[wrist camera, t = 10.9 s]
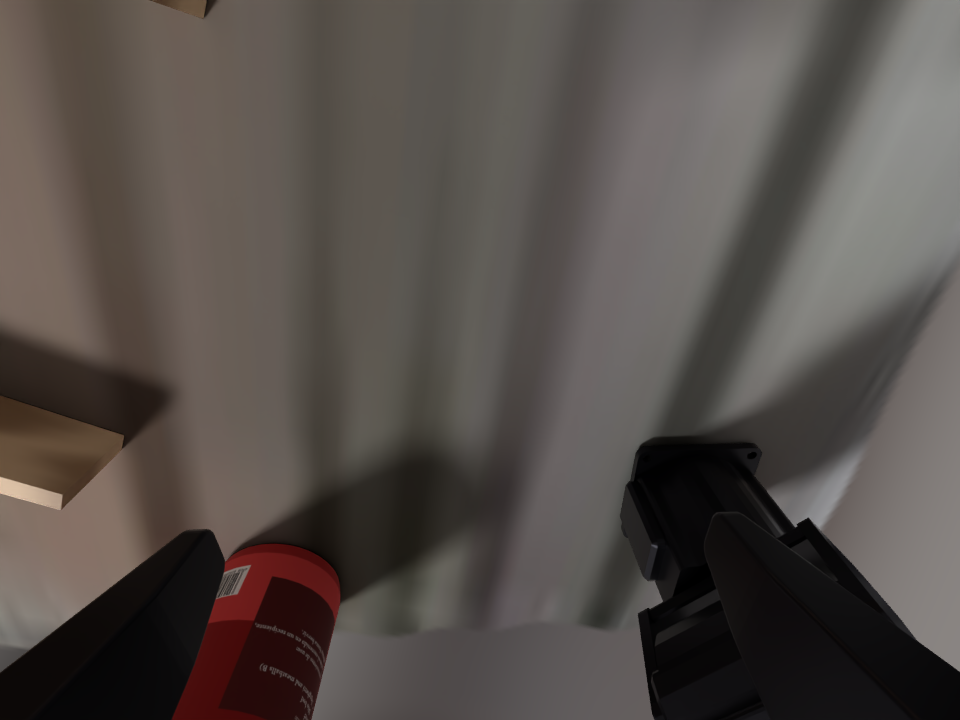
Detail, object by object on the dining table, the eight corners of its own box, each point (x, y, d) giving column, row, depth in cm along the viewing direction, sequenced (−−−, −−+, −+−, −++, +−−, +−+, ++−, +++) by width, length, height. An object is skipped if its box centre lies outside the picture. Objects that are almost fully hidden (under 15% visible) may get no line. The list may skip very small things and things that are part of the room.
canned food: (209, 606, 30) (85, 847, 20) (227, 525, 26) (87, 768, 16) (326, 630, 31) (265, 863, 22) (358, 556, 28) (302, 795, 18)
